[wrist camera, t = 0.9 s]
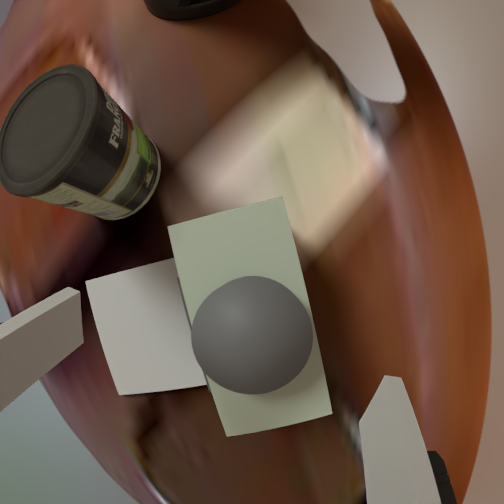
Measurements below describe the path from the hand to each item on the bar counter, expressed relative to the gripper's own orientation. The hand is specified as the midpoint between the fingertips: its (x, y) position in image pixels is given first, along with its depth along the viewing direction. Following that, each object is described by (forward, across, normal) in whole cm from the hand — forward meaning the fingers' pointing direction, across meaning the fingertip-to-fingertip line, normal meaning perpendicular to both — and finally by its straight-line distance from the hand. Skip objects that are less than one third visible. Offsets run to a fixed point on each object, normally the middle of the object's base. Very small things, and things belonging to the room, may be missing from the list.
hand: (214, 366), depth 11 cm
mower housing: (+16, -6, -8) cm, 18 cm away
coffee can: (+19, -18, +5) cm, 26 cm away
